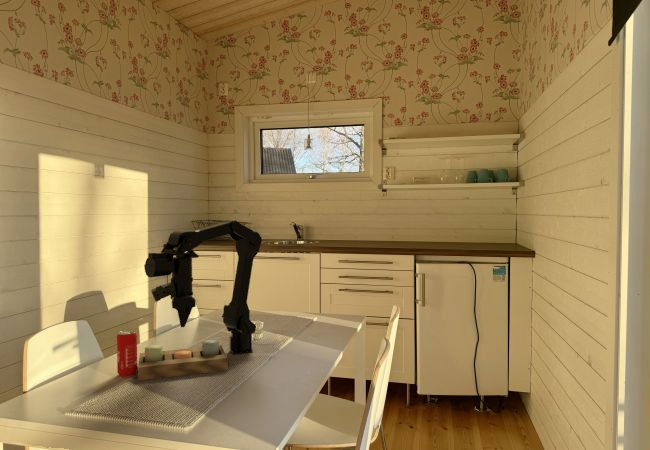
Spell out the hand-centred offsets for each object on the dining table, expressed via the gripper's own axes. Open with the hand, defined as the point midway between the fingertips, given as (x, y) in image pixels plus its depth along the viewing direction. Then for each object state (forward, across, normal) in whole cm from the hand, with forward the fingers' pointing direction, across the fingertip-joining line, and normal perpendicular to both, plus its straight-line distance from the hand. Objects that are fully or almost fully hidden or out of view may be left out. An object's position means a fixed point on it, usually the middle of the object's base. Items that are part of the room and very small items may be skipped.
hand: (182, 326), depth 139 cm
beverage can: (+12, +1, -15) cm, 19 cm away
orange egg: (+12, 0, 0) cm, 12 cm away
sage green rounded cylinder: (+9, 0, +8) cm, 12 cm away
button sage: (+9, 0, -8) cm, 12 cm away
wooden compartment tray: (+12, 0, 0) cm, 12 cm away
